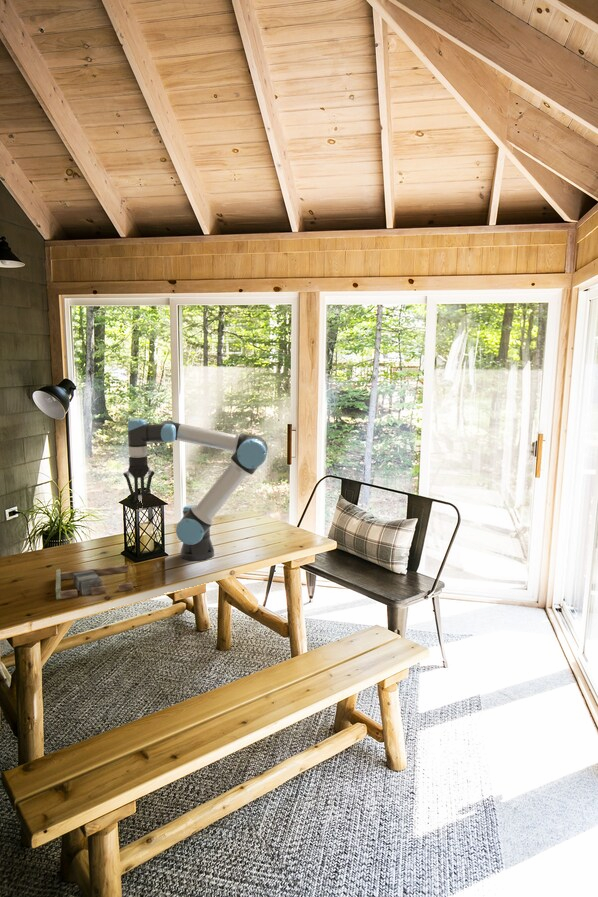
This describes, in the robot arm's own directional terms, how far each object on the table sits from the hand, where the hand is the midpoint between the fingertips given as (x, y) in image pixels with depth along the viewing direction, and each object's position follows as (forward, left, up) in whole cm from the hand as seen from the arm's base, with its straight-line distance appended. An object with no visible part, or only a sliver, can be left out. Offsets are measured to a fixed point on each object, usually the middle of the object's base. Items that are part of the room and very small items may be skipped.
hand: (140, 510), depth 262 cm
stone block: (+23, +19, -25) cm, 38 cm away
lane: (+20, +16, -24) cm, 35 cm away
